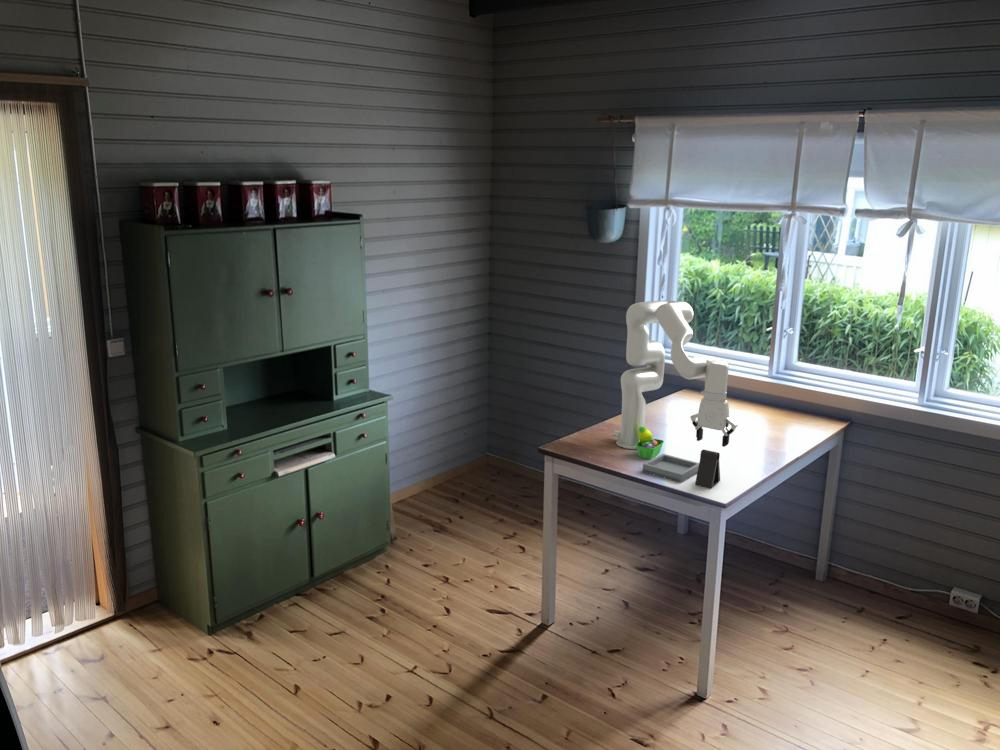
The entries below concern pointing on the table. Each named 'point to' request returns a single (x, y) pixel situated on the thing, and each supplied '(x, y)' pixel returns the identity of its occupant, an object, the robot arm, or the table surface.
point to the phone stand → (708, 469)
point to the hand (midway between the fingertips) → (712, 442)
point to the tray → (671, 467)
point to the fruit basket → (648, 444)
